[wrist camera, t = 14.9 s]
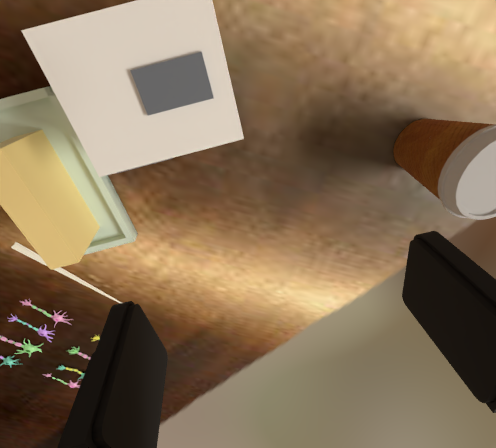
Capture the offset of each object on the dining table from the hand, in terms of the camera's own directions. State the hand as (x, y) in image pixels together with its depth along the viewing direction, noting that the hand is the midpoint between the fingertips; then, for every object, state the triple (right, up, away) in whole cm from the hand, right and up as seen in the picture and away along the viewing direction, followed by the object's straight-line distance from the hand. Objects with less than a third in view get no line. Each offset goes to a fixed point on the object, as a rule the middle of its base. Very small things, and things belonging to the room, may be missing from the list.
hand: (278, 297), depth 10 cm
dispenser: (-10, +17, +19) cm, 27 cm away
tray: (-22, +7, +23) cm, 33 cm away
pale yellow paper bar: (-22, +7, +22) cm, 32 cm away
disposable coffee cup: (+20, +13, +27) cm, 36 cm away
